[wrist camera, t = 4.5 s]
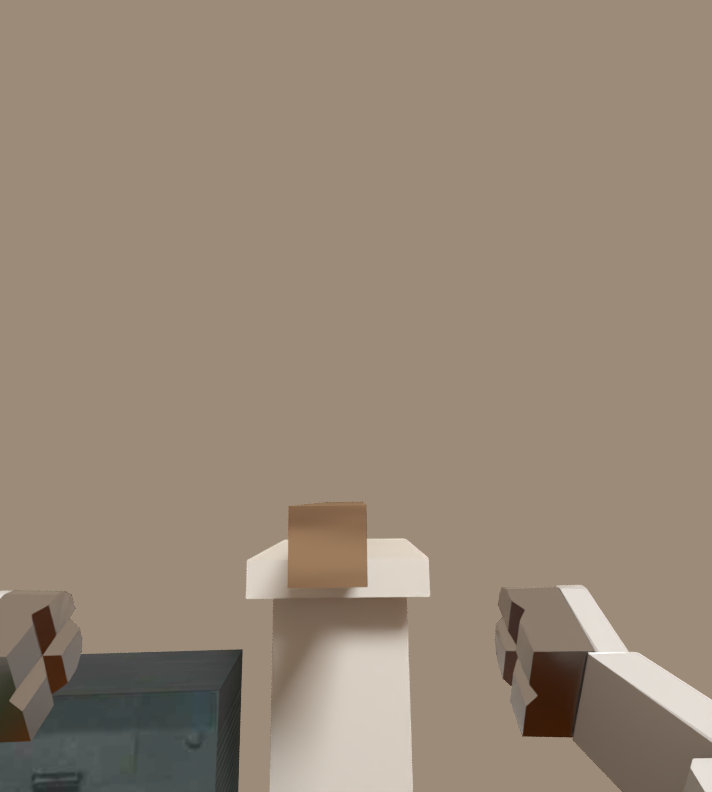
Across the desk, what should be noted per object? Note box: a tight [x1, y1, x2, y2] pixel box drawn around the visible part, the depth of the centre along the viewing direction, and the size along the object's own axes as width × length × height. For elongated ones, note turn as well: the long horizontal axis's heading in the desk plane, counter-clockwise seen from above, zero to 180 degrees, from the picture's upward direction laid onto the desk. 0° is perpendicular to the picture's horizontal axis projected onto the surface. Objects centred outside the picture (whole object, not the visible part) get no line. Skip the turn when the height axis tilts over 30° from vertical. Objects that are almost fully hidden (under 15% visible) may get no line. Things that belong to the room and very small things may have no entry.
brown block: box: [288, 502, 368, 588], centre depth 30 cm, size 22×3×3 cm, turn 0°
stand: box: [246, 538, 430, 792], centre depth 32 cm, size 14×12×26 cm
